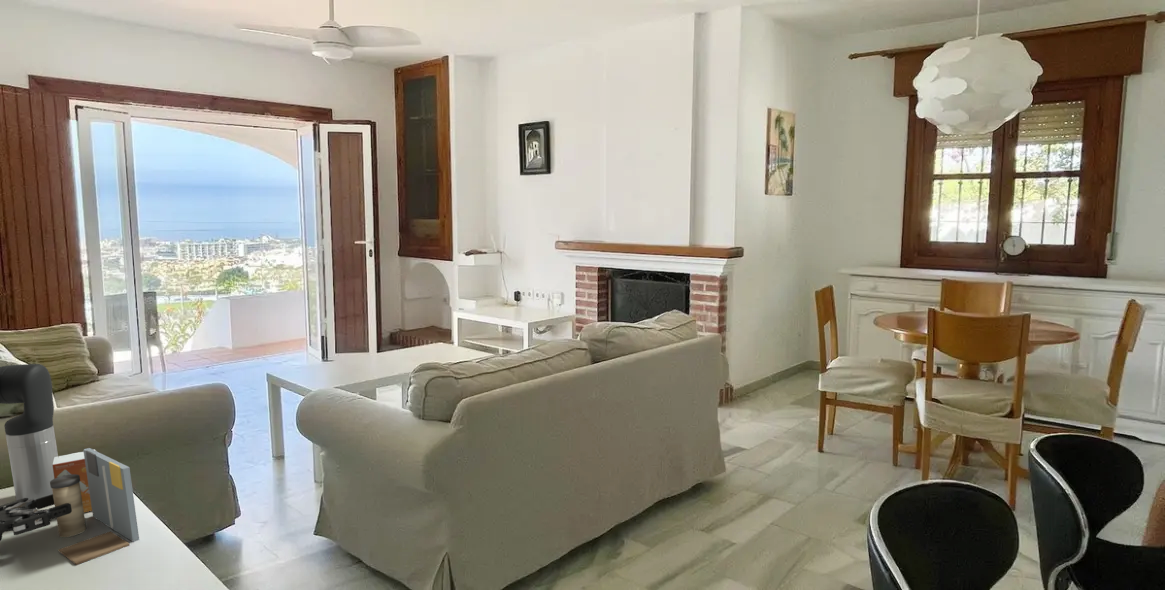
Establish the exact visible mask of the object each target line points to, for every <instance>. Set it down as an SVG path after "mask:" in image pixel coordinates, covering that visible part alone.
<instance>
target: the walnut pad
mask: <svg viewBox="0 0 1165 590" xmlns="http://www.w3.org/2000/svg"><path fill="white" fill-rule="evenodd" d="M128 546H130V543H129V542H128V541H126V540H125V539H123V538H122V537H120V536H119V535H117V534H116V533H114V531H113V532H112V531H110V530H108V531H107V532H105V533H100V534H99V535H95V536H93V537H89V538H87V539H84V540H81V541H78V542H75V543H73V544H71V545H67V546H65V547H62V548H58V549H57V550H58V553H60V554H61V555H63V557H64V558H67V559H68V560H69V562H72V563H73V564H74V565H75V566H78V565H80V564H83V563H86V562H89V561H91V559H92V560H94V559H96V558H99V557H102V556H105V555H108V554H110V553H112V552H115V551H117V550H121V549H124V548H126V547H128ZM123 547H124V548H123ZM88 560H89V561H88Z"/></svg>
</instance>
